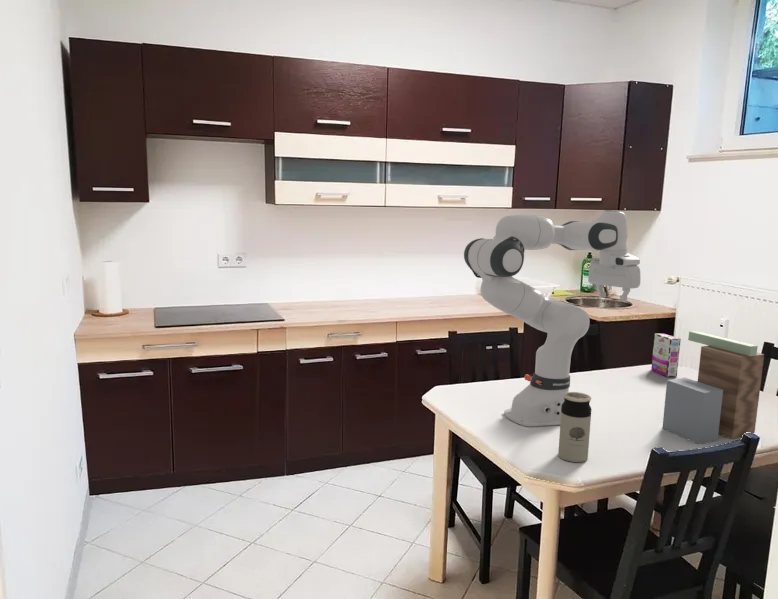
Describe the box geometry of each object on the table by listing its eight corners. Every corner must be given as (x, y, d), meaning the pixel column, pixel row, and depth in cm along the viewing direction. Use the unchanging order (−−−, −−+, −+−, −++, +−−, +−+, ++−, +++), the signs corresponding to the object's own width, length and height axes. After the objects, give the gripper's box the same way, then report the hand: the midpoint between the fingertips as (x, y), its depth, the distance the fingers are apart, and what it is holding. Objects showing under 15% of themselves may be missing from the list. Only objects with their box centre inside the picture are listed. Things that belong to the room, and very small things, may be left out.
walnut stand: (731, 439, 181) (741, 357, 177) (693, 423, 194) (701, 346, 190) (754, 434, 185) (764, 354, 181) (714, 419, 198) (723, 344, 194)
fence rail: (749, 356, 179) (750, 346, 178) (688, 340, 199) (689, 331, 198) (756, 355, 180) (757, 345, 179) (694, 339, 200) (695, 330, 199)
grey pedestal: (698, 444, 177) (704, 392, 175) (662, 428, 190) (667, 380, 187) (717, 440, 180) (723, 390, 178) (680, 424, 193) (685, 377, 190)
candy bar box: (677, 377, 246) (681, 338, 244) (666, 377, 246) (670, 339, 243) (660, 369, 257) (664, 332, 255) (650, 369, 256) (653, 333, 254)
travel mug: (559, 449, 172) (564, 390, 169) (588, 454, 169) (593, 393, 166) (556, 460, 165) (560, 398, 162) (586, 465, 162) (591, 402, 159)
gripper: (584, 257, 208) (583, 296, 210) (629, 260, 190) (629, 303, 191) (597, 256, 211) (597, 295, 212) (644, 259, 192) (643, 301, 194)
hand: (612, 299), depth 202 cm, fingers open, 8 cm apart
